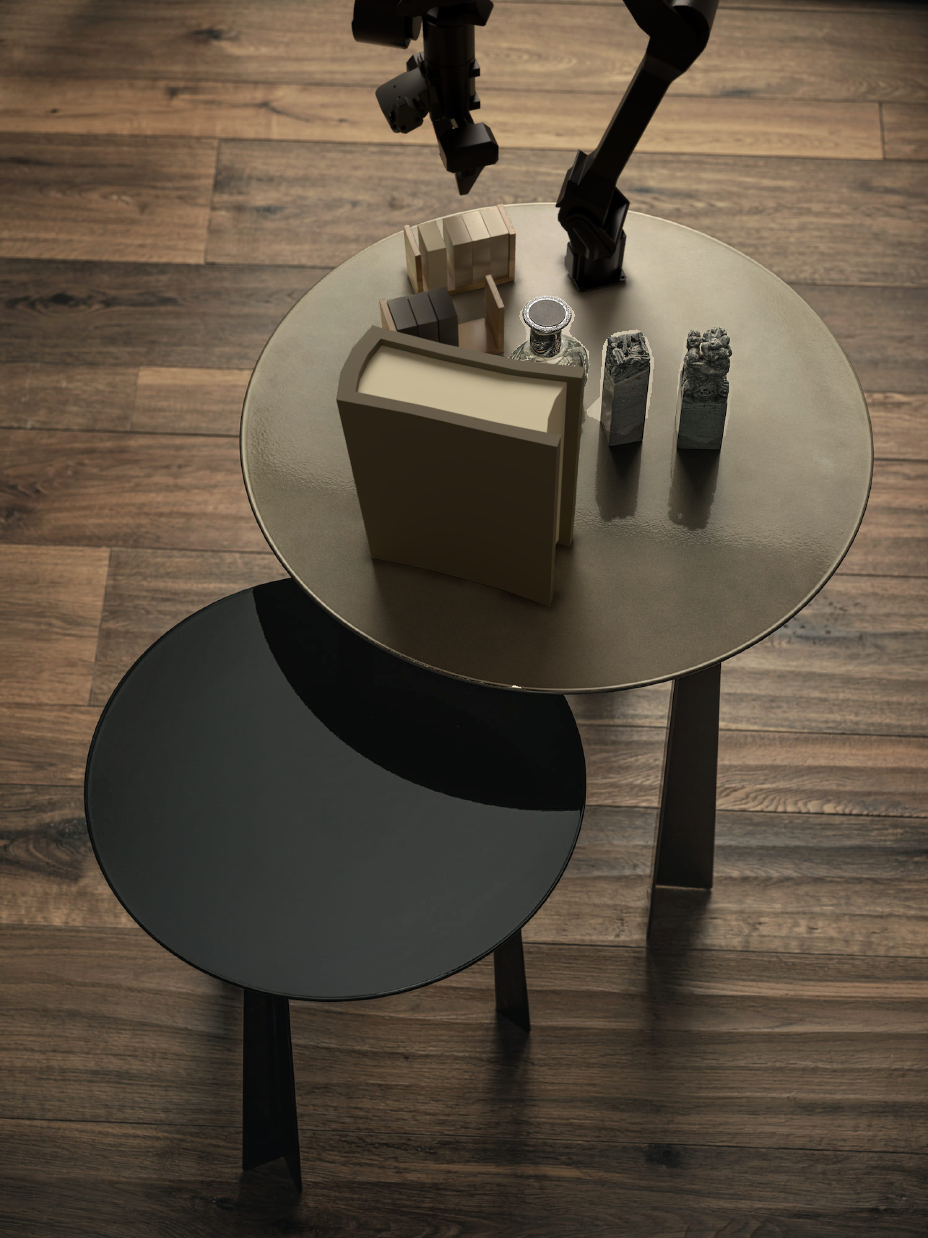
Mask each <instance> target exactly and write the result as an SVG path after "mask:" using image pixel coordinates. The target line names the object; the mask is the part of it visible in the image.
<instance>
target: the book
mask: <svg viewBox="0 0 928 1238" xmlns="http://www.w3.org/2000/svg"><path fill="white" fill-rule="evenodd" d="M586 369H587V367H586V366H578V365H577V366H576V365H568V364H558V363H550V362H540V361H539V362H538V361H530V360H524V359H523V360H520V359H516V358H515V359H514V358H510V357H505V356H500V355H498V354H495V355H492V354H488V353H483V352H479V351H474V350H469V349H465V348H460V347H456V346H451V345H447V344H442V343H438V342H434V341H431V340H427V339H423V338H419V337H415V336H411V335H408V334H404V333H400V332H396V331H392V330H388V329H385V328H382V326H381V327H380V326H377V325H374V324H373V325H371V326H370V327H369V328H368V329H367V331H365V332H364V334H363V335H362V336H361V338H360V339H359V340H358V341H357V342H356V343H355V344H354V345H353V346H352V348H351V350H350V352H349V354H348V356H347V358H346V360H345V361H344V364H343V367H342V368H341V370H340V373H339V379H338V385H337V391H336V396H335V397H336V398H335V402H336V405H337V409H338V414H339V419H340V423H341V427H342V432H343V436H344V440H345V445H346V450H347V454H348V459H349V463H350V469H351V471H352V476H353V480H354V485H355V490H356V493H357V499H358V503H359V508H360V512H361V517H362V520H363V526H364V530H365V534H366V538H367V543H368V548H369V552H370V556H371V558H373V559H377V560H383V561H387V562H391V563H396V564H402V565H405V566H410V567H415V568H419V569H425V570H429V571H433V572H437V573H441V574H444V575H449V576H452V577H456V578H459V579H463V580H466V581H472V582H474V583H480V584H483V585H486V586H491V587H494V588H497V589H499V590H503V591H506V592H508V593H511V594H514V595H516V596H519V597H521V598H525V599H527V600H530V601H533V602H535V603H538V604H540V605H544V606H546V607H551V605H552V601H553V598H554V588H555V587H554V585H555V564H556V546H557V544H558V545H561V546H565V547H568V548H571V545H572V542H573V539H574V528H575V515H576V502H577V489H578V475H579V464H580V463H579V461H580V449H581V437H582V436H581V434H582V421H583V410H584V409H583V408H584V397H585V384H586V383H585V381H586Z"/></svg>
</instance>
